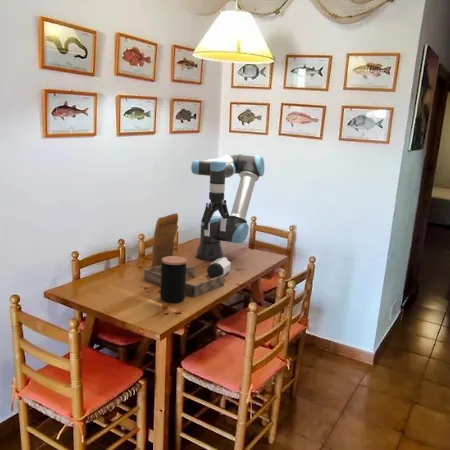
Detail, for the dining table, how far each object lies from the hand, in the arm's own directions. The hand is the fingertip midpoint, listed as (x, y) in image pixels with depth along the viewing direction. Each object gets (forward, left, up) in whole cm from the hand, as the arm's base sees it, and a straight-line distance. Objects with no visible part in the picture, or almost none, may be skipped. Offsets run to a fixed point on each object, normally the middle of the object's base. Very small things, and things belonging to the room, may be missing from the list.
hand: (214, 233), depth 234 cm
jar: (-7, +2, -18) cm, 19 cm away
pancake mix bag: (+9, -26, -22) cm, 35 cm away
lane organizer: (+20, -2, -22) cm, 30 cm away
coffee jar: (+40, +9, -22) cm, 46 cm away
